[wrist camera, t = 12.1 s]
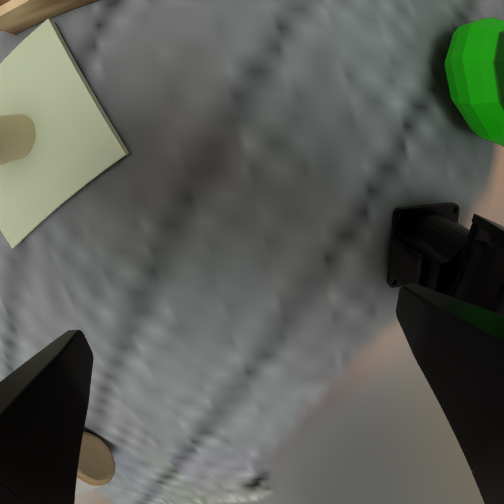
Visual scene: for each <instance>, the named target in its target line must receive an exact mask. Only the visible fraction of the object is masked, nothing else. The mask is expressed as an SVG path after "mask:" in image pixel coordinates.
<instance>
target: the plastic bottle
mask: <svg viewBox="0 0 504 504" xmlns="http://www.w3.org/2000/svg"><path fill="white" fill-rule="evenodd" d="M444 66H445V70H446V75H447V80H448V86H449V91H450V97H451V99H452V101H453V102H454V104H455V105H456V107H457V108H458V110H459V111H460V113H461V114H462V116H463V118H464V119H465V121H466V122H467V124H468V125H469V127H470V129H471V130H472V131H473V132H474V133H476V134H477V135H478V136H479V137H481V138H484V139H487V140H489V141H492V142H494V143H497V144H499V145H502V146H504V21H502V20H499V19H496V18H486V19H481V20H477V21H474V22H471V23H468V24H465V25H462V26H459V28H458V29H457V30H456V31H455V32H454V33H453V36H452V40H451V43H450V46H449V50H448V53H447V56H446V60H445V64H444Z"/></svg>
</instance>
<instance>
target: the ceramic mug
mask: <svg viewBox="0 0 504 504" xmlns="http://www.w3.org/2000/svg"><path fill="white" fill-rule="evenodd" d="M114 473H115V462H114V458H113V455H112V453H111V451H110V450H109V448H108V447H107V445H106V444H105V443H104V442H103V441H102V440H101V439H100V438H98V437H97V436H95V435H93V434H91V433H89V432H85V431H84V432H83V438H82V444H81V450H80V457H79V465H78V472H77V481H76V490H75V497H77V496H80V495H83V494H85V493H88V492H91V491H93V490H96V489H99V488H101V487H103V486H104V485H106V484H107V483H108V482H109V481H110V480H111V479H112V477H113V476H114Z"/></svg>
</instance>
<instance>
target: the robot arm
mask: <svg viewBox="0 0 504 504" xmlns="http://www.w3.org/2000/svg"><path fill="white" fill-rule="evenodd" d="M453 209H454V211H453ZM400 213H401V216H400V217H398V216H399V214H400ZM458 215H459V206H458V205H457V204H455V203H446V204H434V205H422V206H411V207H400V208H397V209H395V211H394V213H393V223H392V236H391V238H390V247H389V257H388V277H387V283H388V285H389V286H390V287H392V288H394V287H399V286H402V287H401V288H400V290H399V295H398V301H397V307H396V315H397V319H398V321H399V323H400V325H401V327H402V330H403V332H404V334H405V336H406V339H407V341H408V343H409V345H410V348H411V350H412V353H413V355H414V357H415V359H416V360H417V363H418V365H419V366H420V368H421V370H422V372H423V373H424V375H425V377H426V379H427V381H428V383H429V385H430V387H431V388H432V390H433V392H434V394H435V396H436V398H437V400H438V402H439V404H440V406H441V408H442V410H443V411H444V413H445V415H446V418H447V420H448V421H449V424H450V426H451V427H452V430H453V432H454V434H455V436H456V438H457V440H458V442H459V444H460V447H461V449H462V451H463V453H464V455H465V458H466V460H467V462H468V464H469V467H470V469H471V471H473V472H472V474H473V476H474V478H475V481H476V483H477V486H478V488H479V491H480V493H481V496H482V498H483V501H484V503H485V504H504V227H503V226H501V225H499V224H497V223H495V222H492V221H490V220H488V219H486V218H483V217H481V216H479V215H476V214H474V215H473V218H472V222H473V223H472V225H471V228H470V230H469V229H467V228H465V227H464V226H462V225H460V224H458ZM393 280H395V281H394V282H392V281H393ZM92 366H93V353H92V351H91V349H90V346H89V344H88V342H87V340H86V338H85V336H84V334H83V332H82V331H81V330H69V331H67V332H65V333H64V334H63V335H61V336H60V337H58V338H57V339H56V340H54V341H53V342H52V343H50V344H49V345H48V346H46V347H45V348H44V349H42V350H41V351H40V352H38V353H37V354H36V355H34V356H33V357H32V358H31V359H29V360H28V361H27V362H25V363H24V364H23V365H21V366H20V367H19V368H18V369H16V370H15V371H14V372H12V373H11V374H10V375H9V376H7V377H6V378H5V379H3V380H2V381H1V382H0V504H74V501H75V490H76V481H77V472H78V465H79V457H80V450H81V444H82V438H83V432H84V426H85V420H86V415H87V409H88V403H89V394H90V384H91V375H92Z"/></svg>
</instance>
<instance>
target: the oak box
mask: <svg viewBox="0 0 504 504" xmlns="http://www.w3.org/2000/svg"><path fill="white" fill-rule="evenodd" d="M96 1H99V0H0V30H1V31H5V32H8V33H12V34H15V35H16V34H18V33H20V32H22V31H24V30H26V29H28V28H30V27H32V26H34V25H37V24H39V23H41V22H43V21H45V20H47V19H48V18H49V19H50V18H52V17H55V16H57V15H60V14H62V13H65V12H67V11H70V10H73V9H75V8H78V7H81V6H84V5H87V4H89V3H92V2H96Z"/></svg>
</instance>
